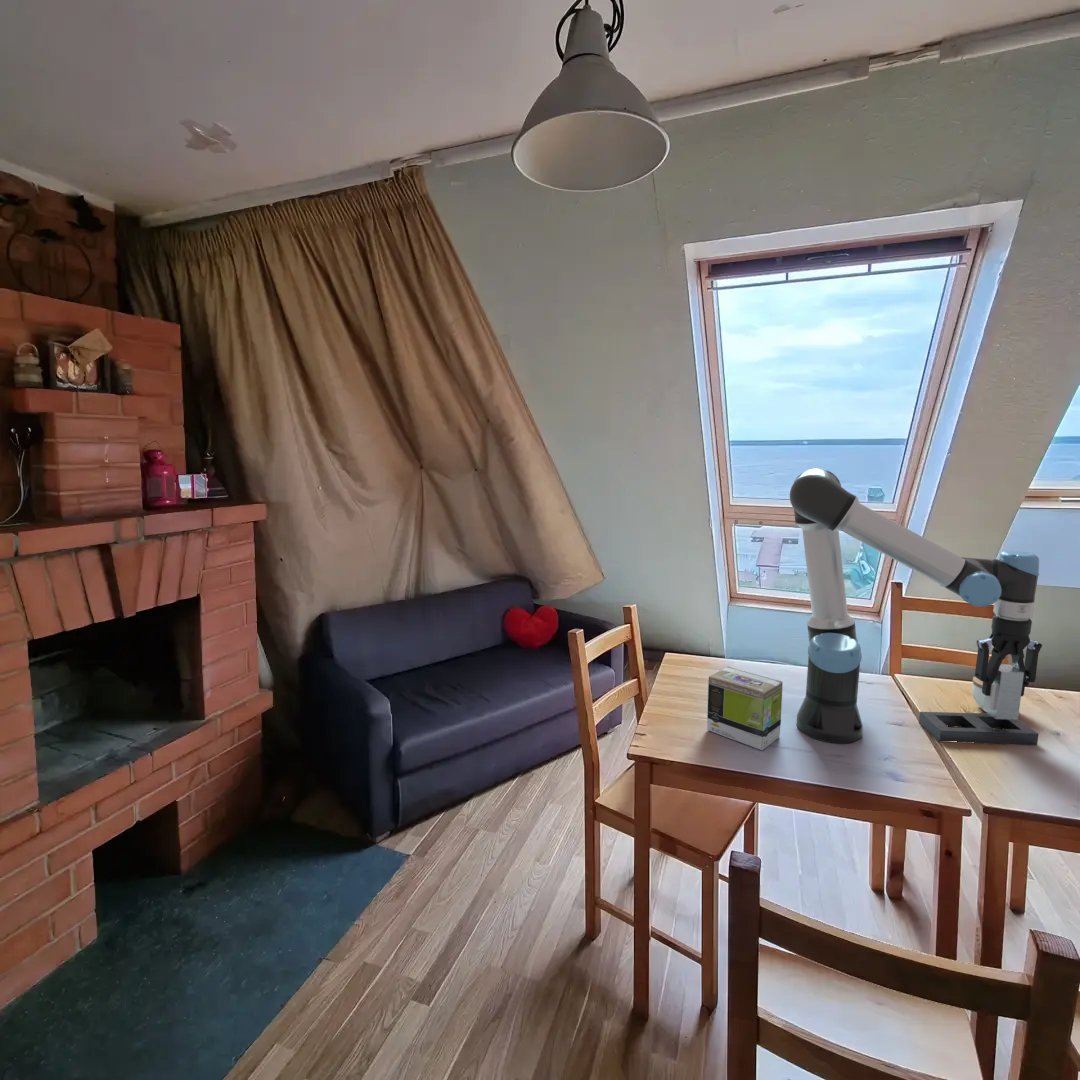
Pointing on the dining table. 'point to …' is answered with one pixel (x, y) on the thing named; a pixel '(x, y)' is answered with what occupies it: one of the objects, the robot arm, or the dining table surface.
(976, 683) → the lidded jar
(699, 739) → the dining table surface
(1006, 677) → the solid steel block
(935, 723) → the dark grey flat frame
